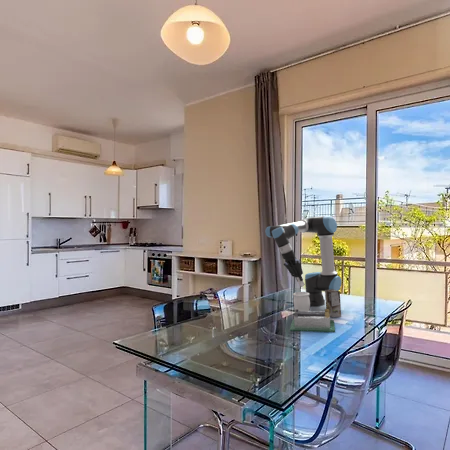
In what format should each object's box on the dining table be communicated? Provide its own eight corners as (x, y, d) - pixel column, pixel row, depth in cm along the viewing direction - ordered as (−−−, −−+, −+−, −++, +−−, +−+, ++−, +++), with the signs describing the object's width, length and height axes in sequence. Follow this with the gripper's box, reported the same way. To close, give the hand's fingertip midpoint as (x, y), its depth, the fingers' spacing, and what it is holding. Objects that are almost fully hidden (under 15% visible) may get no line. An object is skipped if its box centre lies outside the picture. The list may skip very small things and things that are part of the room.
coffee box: (341, 316, 224) (340, 291, 224) (332, 317, 223) (330, 292, 223) (334, 312, 233) (333, 288, 233) (325, 313, 232) (324, 289, 232)
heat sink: (290, 331, 202) (289, 315, 202) (292, 320, 221) (291, 306, 221) (335, 332, 195) (334, 315, 195) (334, 321, 215) (333, 306, 214)
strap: (295, 314, 208) (295, 313, 208) (296, 312, 213) (296, 311, 213) (327, 316, 203) (327, 314, 203) (327, 313, 208) (327, 312, 208)
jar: (311, 314, 234) (310, 291, 233) (309, 318, 224) (308, 295, 224) (295, 313, 237) (294, 291, 237) (293, 317, 227) (291, 295, 227)
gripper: (275, 255, 219) (291, 289, 219) (290, 251, 208) (306, 287, 209) (283, 250, 223) (298, 284, 224) (297, 247, 213) (314, 282, 213)
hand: (302, 285), depth 216 cm, fingers closed
